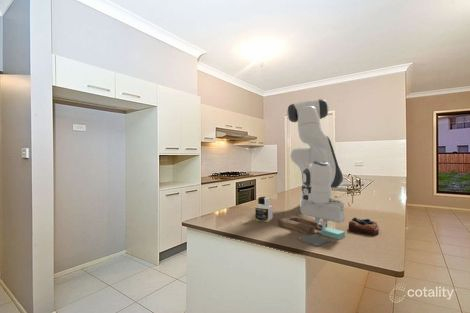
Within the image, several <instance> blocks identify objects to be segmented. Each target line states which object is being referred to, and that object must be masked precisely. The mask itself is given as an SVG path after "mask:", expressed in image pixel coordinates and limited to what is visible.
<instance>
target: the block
mask: <svg viewBox="0 0 470 313" xmlns="http://www.w3.org/2000/svg"><path fill="white" fill-rule="evenodd" d="M320 235H322V236H326V237H330V238H333V239H336V240H340V239H341V240H342V238H345V236H346V231H343V230H339V229H335V228H332V227H328V226H327V227H326V228H323V229H320Z"/></svg>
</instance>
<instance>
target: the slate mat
mask: <svg viewBox="0 0 470 313" xmlns="http://www.w3.org/2000/svg"><path fill="white" fill-rule="evenodd" d="M297 240H298V241H300V242H303V243H306V244H308V245H312V246H314V247H319V246H322V245H324V244H326V243H330V242H331V239H329V238H327V237H322V236H319V235H316V234H314V233H312V234H306V235H304V236H302V237H299V238H297Z"/></svg>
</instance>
